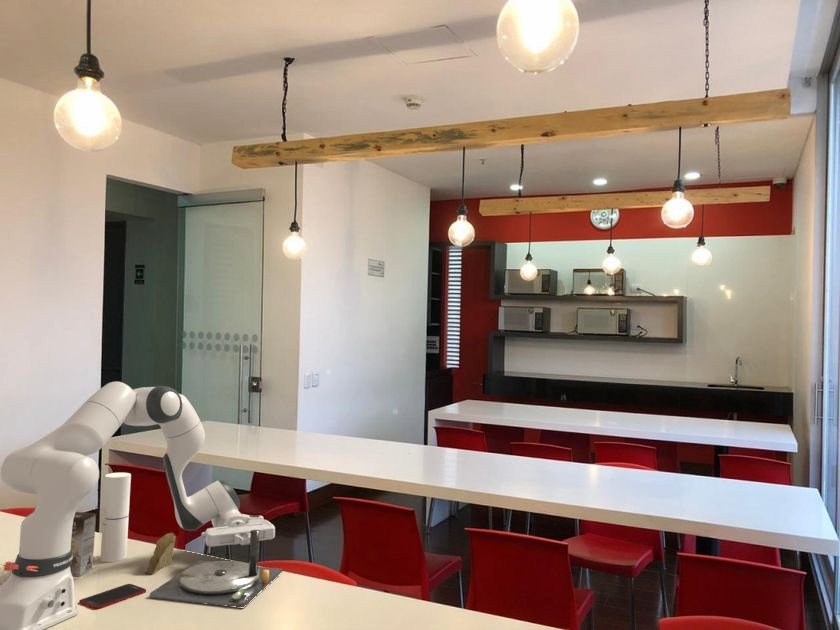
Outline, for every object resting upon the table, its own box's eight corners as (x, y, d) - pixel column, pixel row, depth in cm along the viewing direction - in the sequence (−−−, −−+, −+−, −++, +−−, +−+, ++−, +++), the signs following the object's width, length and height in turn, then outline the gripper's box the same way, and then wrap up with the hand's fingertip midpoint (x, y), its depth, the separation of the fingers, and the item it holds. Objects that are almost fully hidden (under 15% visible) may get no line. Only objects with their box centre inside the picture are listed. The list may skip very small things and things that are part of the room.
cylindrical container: (116, 563, 194) (120, 478, 195) (95, 560, 196) (99, 476, 196) (131, 555, 201) (135, 473, 202) (110, 553, 203) (115, 471, 203)
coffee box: (49, 574, 184) (52, 516, 184) (64, 566, 190) (67, 510, 190) (80, 576, 183) (83, 518, 183) (93, 568, 189) (97, 512, 190)
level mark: (267, 583, 180) (267, 572, 180) (260, 582, 180) (261, 571, 180) (269, 581, 182) (270, 570, 182) (263, 580, 182) (264, 569, 182)
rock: (155, 570, 184) (185, 556, 192) (142, 542, 186) (173, 530, 194) (139, 585, 189) (170, 571, 197) (127, 558, 192) (158, 545, 200)
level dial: (180, 597, 167) (182, 544, 168) (179, 569, 187) (181, 521, 187) (263, 589, 175) (266, 538, 175) (254, 563, 194) (256, 517, 195)
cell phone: (77, 604, 165) (77, 600, 165) (129, 586, 178) (129, 583, 178) (95, 611, 161) (96, 607, 161) (147, 593, 174) (147, 589, 174)
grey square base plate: (243, 608, 166) (244, 597, 166) (149, 597, 170) (150, 586, 170) (282, 573, 191) (282, 563, 192) (199, 564, 196) (200, 554, 196)
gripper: (200, 522, 197) (210, 535, 185) (267, 515, 207) (281, 526, 195) (199, 543, 196) (209, 557, 184) (266, 535, 207) (280, 548, 195)
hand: (247, 541), depth 190 cm, fingers closed
